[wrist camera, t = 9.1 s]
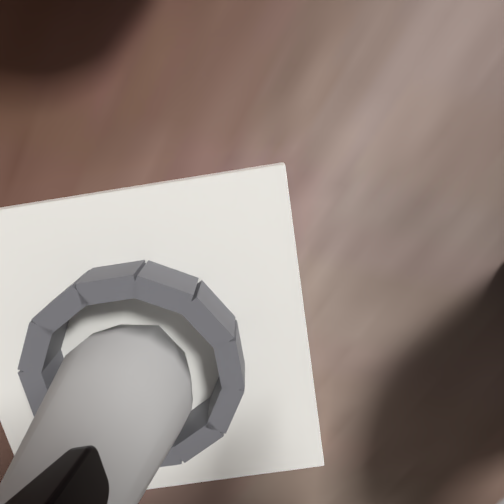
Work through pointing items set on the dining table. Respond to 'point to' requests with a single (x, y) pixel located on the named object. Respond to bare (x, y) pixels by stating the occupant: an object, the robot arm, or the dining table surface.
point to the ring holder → (171, 310)
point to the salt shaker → (110, 410)
